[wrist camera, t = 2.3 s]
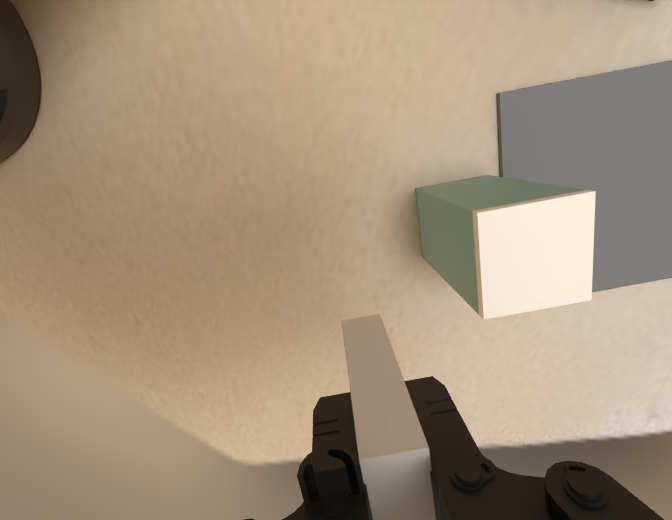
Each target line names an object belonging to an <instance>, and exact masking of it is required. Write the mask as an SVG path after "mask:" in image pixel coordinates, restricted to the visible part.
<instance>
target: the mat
mask: <svg viewBox="0 0 672 520" xmlns="http://www.w3.org/2000/svg"><path fill="white" fill-rule="evenodd" d="M497 113H498V138H499V163H500V177H504V178H511V179H517V180H524V181H531V182H538V183H544V184H551V185H558V186H565V187H572V188H578V189H585V190H592V191H596V196H595V223H594V249H593V276H592V292H596V291H602V290H607V289H612V288H618V287H623V286H629V285H634V284H640V283H645V282H651V281H656V280H661V279H667V278H672V61H667V62H662V63H657V64H651V65H646V66H641V67H635V68H630V69H625V70H619V71H614V72H609V73H603V74H598V75H593V76H587V77H582V78H577V79H571V80H566V81H561V82H555V83H550V84H545V85H539V86H534V87H529V88H523V89H518V90H513V91H507V92H502V93H498V94H497Z"/></svg>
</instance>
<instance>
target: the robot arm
mask: <svg viewBox="0 0 672 520" xmlns="http://www.w3.org/2000/svg"><path fill="white" fill-rule="evenodd" d="M39 97H40V78H39V70H38V64H37V59H36V56H35V52H34V48H33V46H32V43H31V40H30V37H29V35H28V33H27V30H26V28H25V26H24V24H23V22H22V20H21V19H20V17H19V15H18V13H17V12H16V10H15V9H14V7H13V5H12V4H11V3H10V1H9V0H0V162H1V161H2V160H4V159H5V158H7V157H8V156H10V155H11V154H12V153H13V152H14V151H15V150H16V149H18V148H19V146H20V145H21V144H22V143H23V142H24V140H25V139H26V137H27V136H28V134H29V132H30V130H31V128H32V126H33V124H34V121H35V118H36V115H37V111H38V105H39ZM342 329H343V337H344V345H345V353H346V360H347V368H348V376H349V384H350V392H349V393H343V394H337V395H332V396H326V397H321V398H320V399H319V401H318V403H317V404H316V406H315V408H314V410H313V442H312V452H311V453H310V454H308V455H307V456H306V458H305V459H304V460H303V462H302V463H301V464H300V467H299V471H298V474H297V477H298V481H299V485H300V488H301V492H302V496H303V499H304V502H303V504H302V505H301V506H300V507H299V508H298V509H297V510H296V511H295V512H294V513H292V514H291V515H289V516H288V517H286V518H284V519H282V520H664V519H663V518H661V517H660V516H659V515H658V514H656V513H655V512H654V511H653V510H651V509H650V508H649V507H648V506H647V505H645V504H644V503H643V502H642V501H640V500H639V499H638V498H637V497H635V496H634V495H633V494H632V493H630V492H629V491H628V490H627V489H626V488H624V487H623V486H622V485H621V484H619V483H618V482H617V481H616V480H614V479H613V478H612V477H611V476H609V475H607V474H606V473H604V472H603V471H601V470H600V469H598V468H596V467H593V466H590V465H587V464H585V463H582V462H574V461H573V462H572V461H564V462H560V463H555V464H554V465H553V466H551V467H550V468H549V469H548V470H547V473H546V476H545V478H541V477H532V476H523V475H517V474H513V473H509V472H506V471H504V470H501V469H499V468H498V467H496V466H495V465H494V464H493V463H492V462H491V461H490V460H488V459H487V458H485V457H484V456H483V455H482V454H481V452H480V451H479V449H478V447H477V445H476V443H475V442H474V440H473V438H472V436H471V434H470V432H469V430H468V429H467V427H466V425H465V423H464V421H463V419H462V417H461V415H460V414H459V412H458V411H457V408H456V406H455V404H454V402H453V400H451V397H450V395H449V393H448V391H447V389H446V387H445V385H443V384H442V383H441V382H439V381H438V380H437V379H435V378H434V377H433V376H431V377H426V378H420V379H415V380H409V381H404V379H403V376H402V373H401V371H400V368H399V365H398V363H397V360H396V357H395V354H394V352H393V349H392V346H391V344H390V341H389V338H388V335H387V333H386V330H385V327H384V325H383V322H382V319H381V316H380V314H378V315H373V316H367V317H362V318H356V319H351V320H345V321H342ZM245 520H254V519H245Z"/></svg>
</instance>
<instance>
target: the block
mask: <svg viewBox="0 0 672 520" xmlns="http://www.w3.org/2000/svg"><path fill="white" fill-rule="evenodd" d="M415 190H416V199H417V208H418V217H419V226H420V235H421V245H422V254H423V258H424V259H425V260H426V261H427V262H428V263H429V264H430V265H431V266H432V267H433V268H434V269H435V270H436V271H437V272H438V273H439V274H440V275H441V277H442V278H443V279H444V280H445V281H446V282H447V283H448V284H449V285H450V286H451V287H452V288H453V289H454V290H455V291H456V292H457V293H458V294H459V295H460V296H461V297H462V298H463V299H464V300H465V301H466V302H467V303H468V304H469V305H470V306H471V307H472V308H473V309H474V310H475V311H476V312H477V313H478V314H479V315H480V316H481V317H482V318H483V319H484V320H485V319H490V318H496V317H501V316H507V315H512V314H518V313H523V312H529V311H534V310H539V309H545V308H550V307H556V306H561V305H567V304H572V303H578V302H583V301H589V300H592V276H593V249H594V223H595V196H596V191H592V190H585V189H578V188H572V187H565V186H558V185H551V184H544V183H538V182H531V181H524V180H517V179H511V178H504V177H497V176H490V175H486V176H480V177H475V178H469V179H464V180H459V181H453V182H448V183H442V184H437V185H432V186H426V187H421V188H416V189H415Z"/></svg>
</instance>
